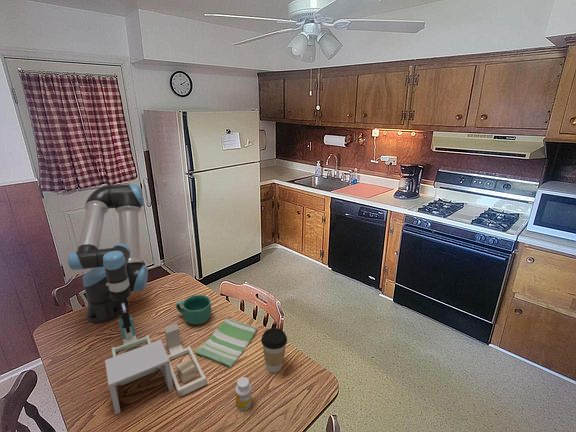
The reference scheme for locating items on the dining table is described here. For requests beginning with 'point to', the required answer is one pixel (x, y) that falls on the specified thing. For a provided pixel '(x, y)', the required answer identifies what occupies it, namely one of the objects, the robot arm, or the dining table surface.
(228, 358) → the dish towel
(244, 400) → the supplement bottle
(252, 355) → the dining table surface
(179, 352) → the open frame with post
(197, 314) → the mug
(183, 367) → the birch block
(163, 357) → the shelf
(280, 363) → the coffee cup
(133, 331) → the frame
